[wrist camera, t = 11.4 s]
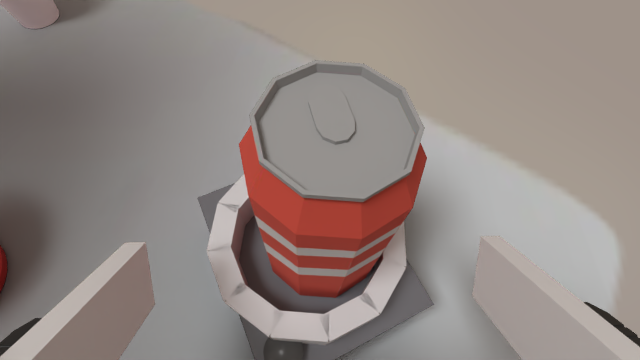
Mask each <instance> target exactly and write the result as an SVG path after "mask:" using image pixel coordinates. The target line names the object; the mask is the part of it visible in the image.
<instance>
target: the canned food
mask: <svg viewBox="0 0 640 360" xmlns="http://www.w3.org/2000/svg"><path fill="white" fill-rule="evenodd" d="M6 275H7V259H6V255H5V252H4V250H3V249H2V247H1V245H0V292H1V290H2V288H3V285H4V283H5V279H6Z"/></svg>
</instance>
